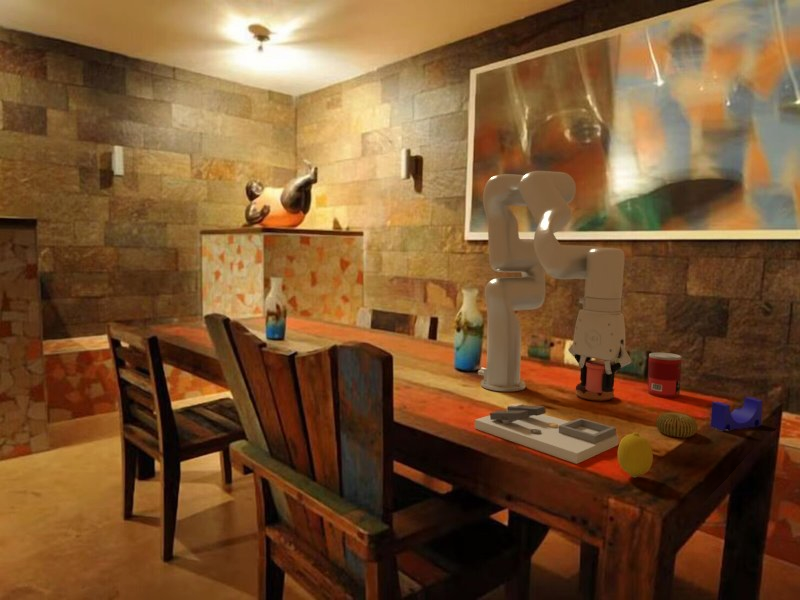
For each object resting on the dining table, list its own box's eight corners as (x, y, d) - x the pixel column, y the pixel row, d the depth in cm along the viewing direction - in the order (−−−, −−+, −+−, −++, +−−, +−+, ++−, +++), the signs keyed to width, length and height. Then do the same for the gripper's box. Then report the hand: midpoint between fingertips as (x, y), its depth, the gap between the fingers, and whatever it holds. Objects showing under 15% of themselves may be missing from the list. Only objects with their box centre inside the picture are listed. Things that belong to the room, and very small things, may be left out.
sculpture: (687, 424, 107) (649, 414, 113) (686, 443, 107) (648, 432, 114) (705, 416, 112) (667, 407, 118) (704, 435, 112) (666, 425, 119)
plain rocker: (491, 423, 114) (489, 413, 114) (500, 421, 116) (498, 410, 116) (520, 424, 108) (518, 413, 108) (529, 421, 110) (527, 410, 110)
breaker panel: (474, 428, 115) (475, 412, 115) (517, 415, 125) (517, 400, 125) (576, 463, 96) (577, 445, 96) (617, 445, 106) (618, 428, 105)
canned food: (683, 399, 140) (685, 358, 139) (651, 397, 141) (653, 357, 140) (674, 391, 147) (676, 353, 146) (644, 390, 149) (645, 351, 148)
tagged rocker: (508, 417, 118) (507, 405, 118) (516, 414, 120) (515, 403, 120) (537, 419, 112) (536, 407, 112) (546, 417, 114) (544, 405, 114)
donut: (597, 391, 147) (598, 377, 147) (622, 401, 138) (623, 386, 138) (567, 394, 144) (567, 380, 144) (590, 404, 135) (591, 389, 135)
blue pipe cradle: (741, 420, 122) (743, 395, 122) (760, 426, 118) (762, 400, 118) (704, 426, 118) (706, 400, 117) (723, 432, 114) (724, 405, 113)
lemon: (610, 471, 93) (612, 427, 92) (640, 470, 93) (642, 426, 93) (626, 485, 88) (628, 438, 87) (658, 484, 88) (660, 437, 87)
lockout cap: (579, 388, 115) (581, 362, 115) (591, 385, 119) (593, 359, 118) (600, 394, 112) (602, 367, 111) (612, 390, 115) (614, 363, 114)
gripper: (558, 302, 117) (553, 381, 119) (631, 312, 104) (624, 401, 106) (576, 299, 121) (571, 376, 124) (649, 309, 109) (642, 394, 111)
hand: (596, 386), depth 115 cm, fingers closed on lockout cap, 4 cm apart
